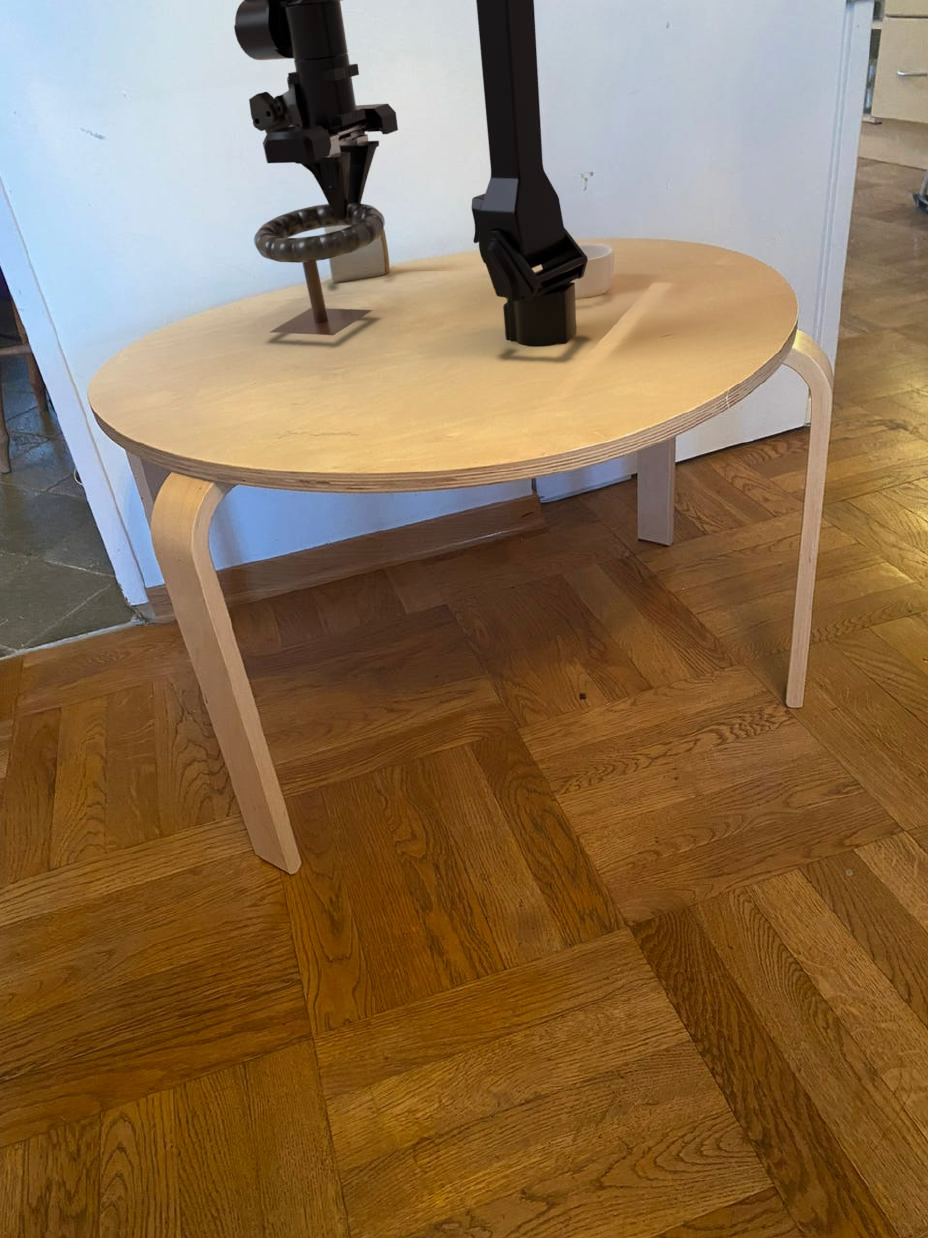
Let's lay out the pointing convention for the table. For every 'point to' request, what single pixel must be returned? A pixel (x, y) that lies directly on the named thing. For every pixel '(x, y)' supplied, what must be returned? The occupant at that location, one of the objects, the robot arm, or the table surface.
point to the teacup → (595, 270)
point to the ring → (283, 249)
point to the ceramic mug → (360, 260)
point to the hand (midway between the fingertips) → (347, 216)
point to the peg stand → (319, 311)
